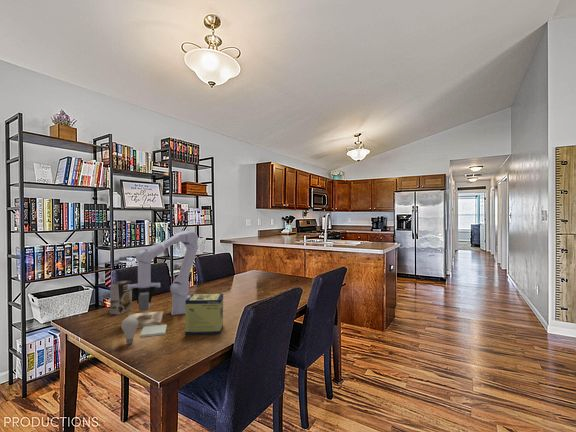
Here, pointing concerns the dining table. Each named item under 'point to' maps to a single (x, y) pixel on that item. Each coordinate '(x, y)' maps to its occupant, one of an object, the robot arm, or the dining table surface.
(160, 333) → the pad
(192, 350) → the dining table surface
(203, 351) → the dining table surface
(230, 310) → the dining table surface
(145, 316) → the pocket board
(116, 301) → the coffee box
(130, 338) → the lightbulb
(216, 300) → the protein box
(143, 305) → the peg
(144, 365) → the dining table surface
